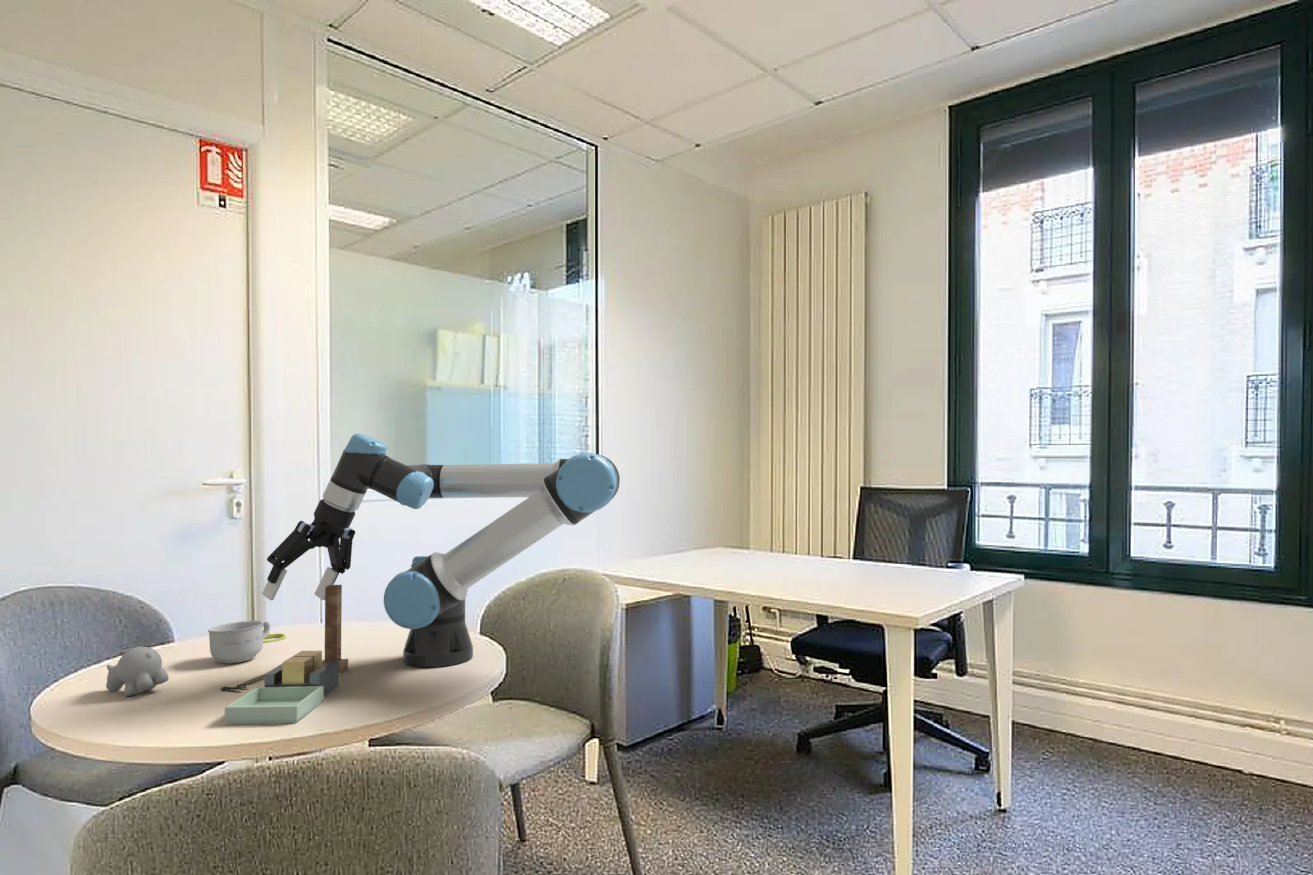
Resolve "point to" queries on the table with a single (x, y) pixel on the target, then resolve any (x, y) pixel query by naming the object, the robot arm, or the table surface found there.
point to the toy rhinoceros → (136, 671)
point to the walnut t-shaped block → (333, 625)
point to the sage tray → (274, 705)
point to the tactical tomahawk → (242, 684)
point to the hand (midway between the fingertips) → (294, 597)
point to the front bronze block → (297, 670)
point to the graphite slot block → (319, 677)
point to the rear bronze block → (316, 657)
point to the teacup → (237, 640)
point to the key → (269, 636)
